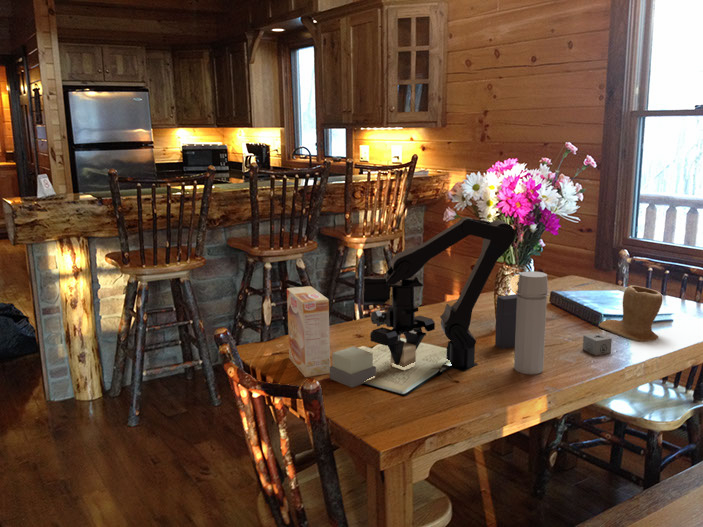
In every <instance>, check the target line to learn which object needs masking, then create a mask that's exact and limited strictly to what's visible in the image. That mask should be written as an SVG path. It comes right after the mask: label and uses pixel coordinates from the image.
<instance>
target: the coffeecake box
mask: <svg viewBox="0 0 703 527" xmlns="http://www.w3.org/2000/svg"><path fill="white" fill-rule="evenodd" d="M286 299H287V300H286V301H287V305H286V306H287V327H288V329H287V332H288V352H289V353H288V354H289V355H288V359H289V360H290V361H291V363H293V364H294V365H295V367H296V368H297V370H299V371H300V373H301V374H302V375H303V376H304V377H305V378H307V377H314V376H319V375H326V374H327V375H328V374H329V375H330V367H331V355H330V354H331V350H330V349H331V348H330V347H331V346H330V344H331V343H330V311H329V309H330V306H329V305H330V304H329V302H330V300H329V298H327V297H326V296H324V294H322V293H320V291H318V290H316V289H315V288H314V287H312V286H311V285H310V286H295V287H288V288H286Z"/></svg>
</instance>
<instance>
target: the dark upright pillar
mask: <svg viewBox="0 0 703 527" xmlns="http://www.w3.org/2000/svg"><path fill="white" fill-rule="evenodd" d="M517 295H518V294H517V293H516V294H508V295H507V294H506V295H499V296H497V297H496V309H495V313H496V314H495V335H494V336H495V340H494V342H495V343H494V347H496V348H498V349H499V350H505V349H512V348H515V332H516V308H517Z"/></svg>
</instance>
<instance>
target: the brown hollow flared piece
mask: <svg viewBox="0 0 703 527" xmlns="http://www.w3.org/2000/svg"><path fill="white" fill-rule="evenodd" d="M622 296H623V297H622V319H621V320H619V319H608V320H604V321H601V322H600V323H599V325H598V327H599V328H600V329H603V330H605V331H607V332H610V333H612V334H615V335H618V336H620V337H622V338H625V339H629V340H631V341H635V342H641V343H642V342H652V341H654V340H657V339H658V338H659V336H658V334H656V333H655V332H654V331H653V330H652V327H653V323H654V321H655V319H656V318H657V316H658V314H659V312H660V309H661V307H662V304H663V300H664V298H663V294H662V293H661V292H660V291H658V290H655V289H651V288H649V287H644V286H639V285H628V286H627V287H626V288H625V289H624V291H623V295H622Z"/></svg>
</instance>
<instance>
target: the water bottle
mask: <svg viewBox="0 0 703 527" xmlns="http://www.w3.org/2000/svg"><path fill="white" fill-rule="evenodd" d="M548 281H549V280H548V274H547V273H545V272H542V271H532V270H531V271H522V272H520V273H519V277H518V285H517V290H516V291H515V293H516V294H518V295H517V308H516V332H515V347H514V357H513V359H514V360H513V361H514V364H513V369H514V370H515V371H516V372H518V373H521V374H523V375H539V374H541V373H543V371H544V362H545V361H544V360H545V359H544V358H545V341H546V322H547V304H548V302H547V301H548V300H547V299H548V297H549V296H550V294H549V284H548V283H549V282H548Z"/></svg>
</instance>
